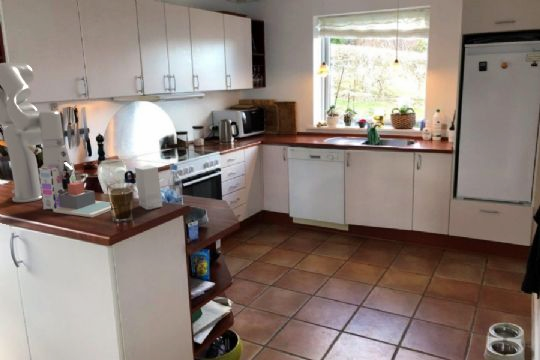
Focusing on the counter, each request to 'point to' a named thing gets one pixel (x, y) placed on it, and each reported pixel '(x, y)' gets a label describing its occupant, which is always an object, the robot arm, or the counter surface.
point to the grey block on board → (82, 204)
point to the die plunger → (76, 188)
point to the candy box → (52, 186)
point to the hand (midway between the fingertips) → (59, 187)
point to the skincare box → (148, 187)
